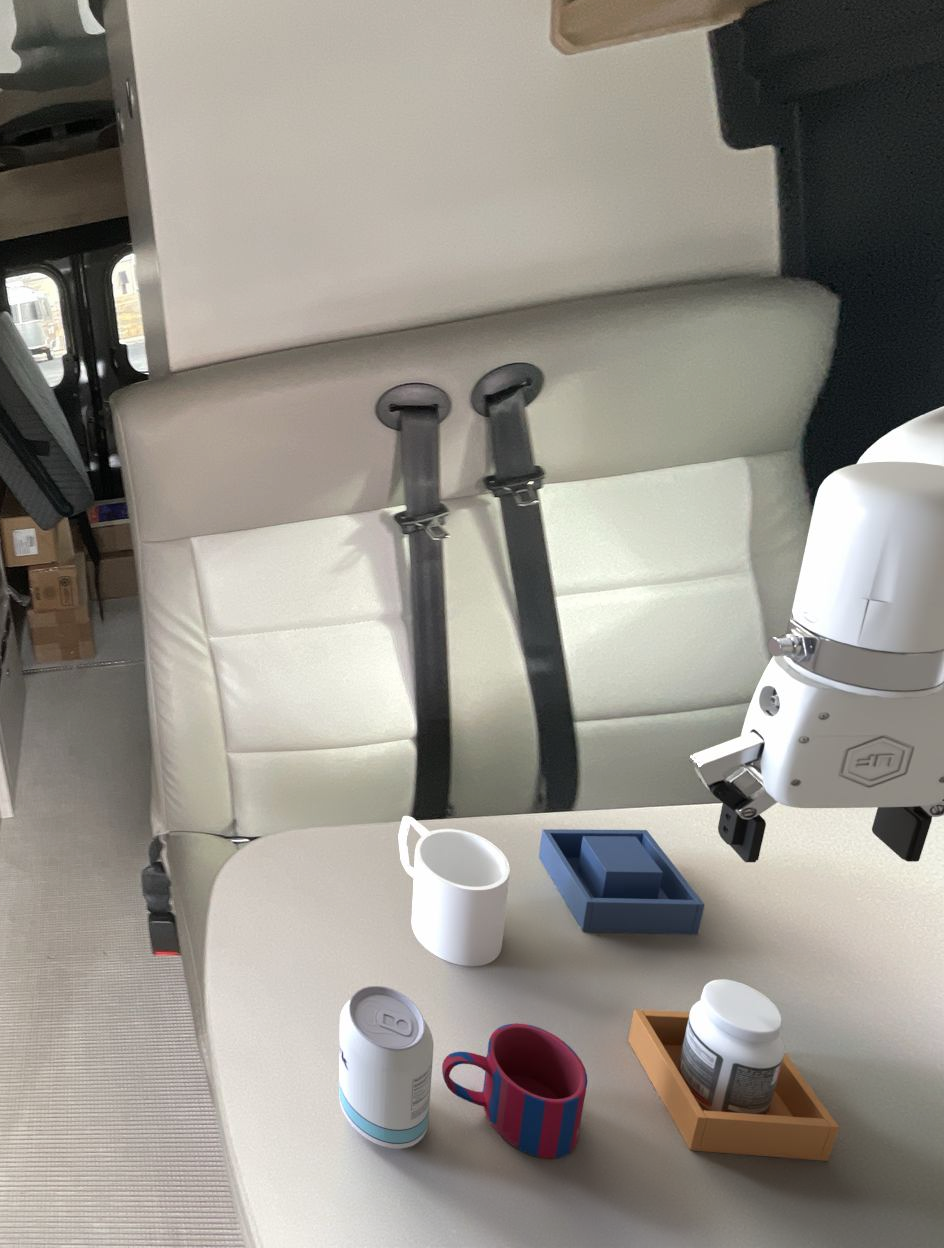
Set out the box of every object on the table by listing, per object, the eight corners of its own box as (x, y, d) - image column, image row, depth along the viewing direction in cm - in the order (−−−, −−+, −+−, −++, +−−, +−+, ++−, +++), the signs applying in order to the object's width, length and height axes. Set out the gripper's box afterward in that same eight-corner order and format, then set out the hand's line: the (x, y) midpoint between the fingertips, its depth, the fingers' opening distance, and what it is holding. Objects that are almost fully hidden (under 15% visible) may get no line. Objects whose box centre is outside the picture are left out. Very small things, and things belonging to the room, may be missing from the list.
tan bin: (748, 1046, 72) (757, 1014, 70) (828, 1161, 63) (840, 1127, 62) (627, 1040, 74) (633, 1008, 72) (690, 1150, 65) (698, 1117, 64)
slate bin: (641, 858, 91) (646, 829, 90) (698, 934, 82) (704, 904, 80) (538, 856, 93) (541, 829, 92) (582, 931, 84) (586, 902, 83)
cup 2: (587, 1171, 65) (597, 1114, 63) (443, 1133, 69) (447, 1078, 67) (567, 1089, 71) (576, 1034, 68) (435, 1058, 75) (439, 1005, 72)
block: (629, 872, 89) (635, 836, 87) (655, 909, 84) (663, 872, 83) (577, 871, 90) (582, 835, 88) (600, 908, 86) (606, 871, 84)
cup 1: (426, 867, 94) (430, 797, 91) (521, 947, 83) (530, 871, 80) (367, 893, 92) (369, 822, 89) (457, 978, 81) (463, 901, 78)
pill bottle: (770, 1083, 68) (795, 998, 65) (766, 1141, 65) (792, 1054, 61) (680, 1044, 72) (699, 961, 69) (672, 1096, 69) (691, 1012, 65)
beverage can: (345, 1062, 76) (346, 967, 71) (430, 1093, 72) (437, 996, 68) (332, 1134, 70) (333, 1036, 66) (424, 1172, 67) (431, 1071, 62)
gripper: (750, 686, 53) (710, 887, 59) (1089, 671, 49) (1008, 888, 55) (680, 628, 60) (651, 814, 66) (973, 611, 56) (913, 810, 62)
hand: (814, 847), depth 61 cm, fingers open, 9 cm apart
